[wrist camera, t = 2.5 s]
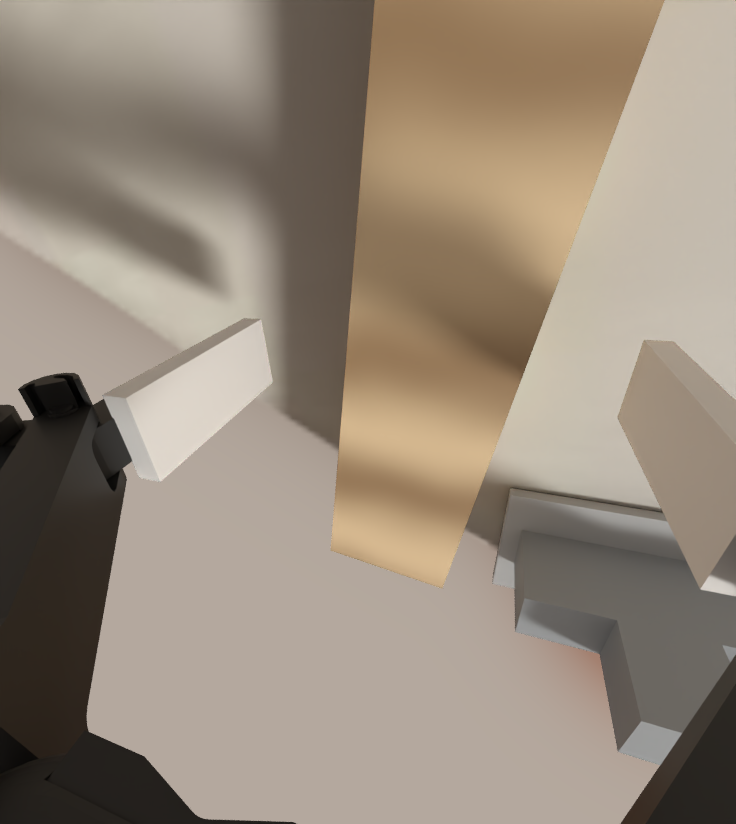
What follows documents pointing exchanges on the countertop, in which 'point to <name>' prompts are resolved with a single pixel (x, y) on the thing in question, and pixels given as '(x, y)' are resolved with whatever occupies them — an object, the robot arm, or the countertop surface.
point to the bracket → (619, 609)
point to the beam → (463, 245)
